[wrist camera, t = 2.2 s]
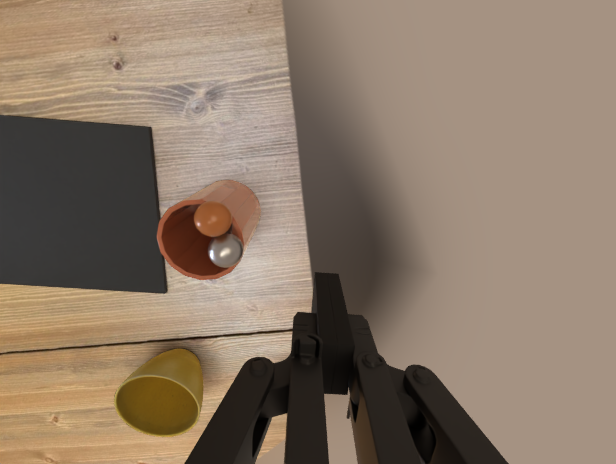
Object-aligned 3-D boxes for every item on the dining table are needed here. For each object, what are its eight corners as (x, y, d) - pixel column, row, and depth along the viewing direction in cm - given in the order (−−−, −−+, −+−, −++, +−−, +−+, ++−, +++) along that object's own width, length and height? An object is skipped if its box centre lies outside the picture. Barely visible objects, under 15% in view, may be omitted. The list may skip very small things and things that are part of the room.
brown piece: (234, 180, 32) (216, 196, 20) (247, 202, 33) (237, 230, 21) (212, 192, 32) (181, 215, 20) (226, 213, 33) (203, 248, 21)
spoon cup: (240, 168, 32) (213, 184, 23) (271, 223, 34) (259, 259, 25) (186, 197, 33) (139, 223, 24) (220, 248, 35) (189, 292, 26)
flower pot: (176, 399, 43) (152, 448, 37) (130, 352, 40) (94, 397, 34) (231, 372, 42) (216, 418, 35) (187, 321, 39) (161, 362, 32)
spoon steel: (232, 208, 33) (231, 230, 22) (244, 228, 34) (251, 260, 23) (210, 220, 33) (198, 249, 21) (224, 240, 34) (219, 279, 22)
